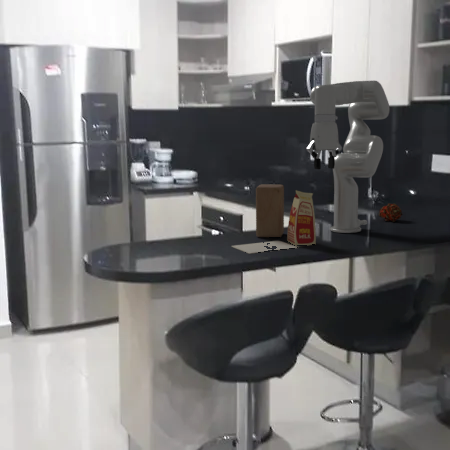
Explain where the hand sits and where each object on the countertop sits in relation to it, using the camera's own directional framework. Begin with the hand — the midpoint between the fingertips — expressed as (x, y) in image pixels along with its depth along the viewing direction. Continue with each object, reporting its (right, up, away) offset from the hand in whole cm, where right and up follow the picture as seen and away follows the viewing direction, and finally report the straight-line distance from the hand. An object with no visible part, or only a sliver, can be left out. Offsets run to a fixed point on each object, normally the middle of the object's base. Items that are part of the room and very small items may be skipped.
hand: (324, 168), depth 240 cm
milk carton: (-8, -28, +1) cm, 29 cm away
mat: (-23, -29, -6) cm, 37 cm away
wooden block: (-19, -26, +16) cm, 36 cm away
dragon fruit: (+36, -20, +46) cm, 62 cm away
